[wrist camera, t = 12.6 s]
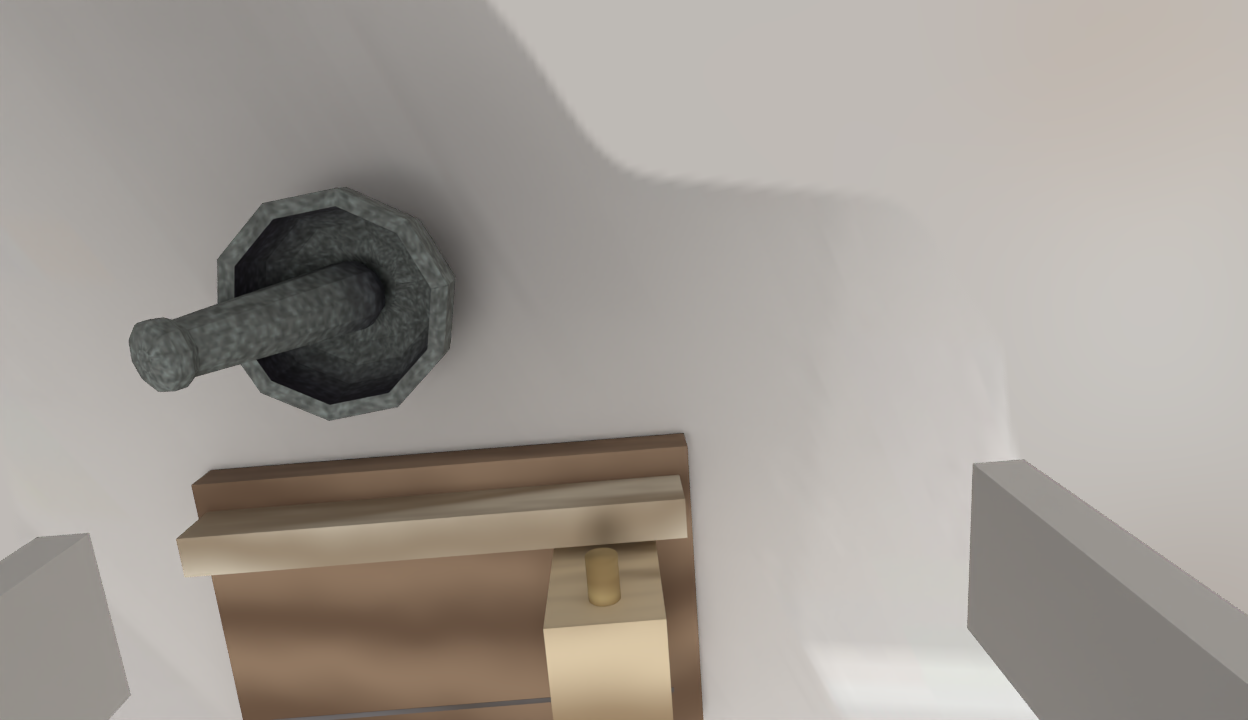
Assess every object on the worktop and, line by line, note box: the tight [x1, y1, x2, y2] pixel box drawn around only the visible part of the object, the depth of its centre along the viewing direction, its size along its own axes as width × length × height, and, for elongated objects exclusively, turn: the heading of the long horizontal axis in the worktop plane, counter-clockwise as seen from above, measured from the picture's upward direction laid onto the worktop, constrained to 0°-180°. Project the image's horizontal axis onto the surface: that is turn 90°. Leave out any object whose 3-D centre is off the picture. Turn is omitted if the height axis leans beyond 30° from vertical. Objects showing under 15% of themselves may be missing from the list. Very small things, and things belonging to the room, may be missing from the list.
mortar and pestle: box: [129, 187, 455, 421], centre depth 34 cm, size 11×9×12 cm
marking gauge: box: [543, 540, 673, 720], centre depth 37 cm, size 12×5×9 cm, turn 4°
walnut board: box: [176, 433, 703, 720], centre depth 41 cm, size 17×25×5 cm
